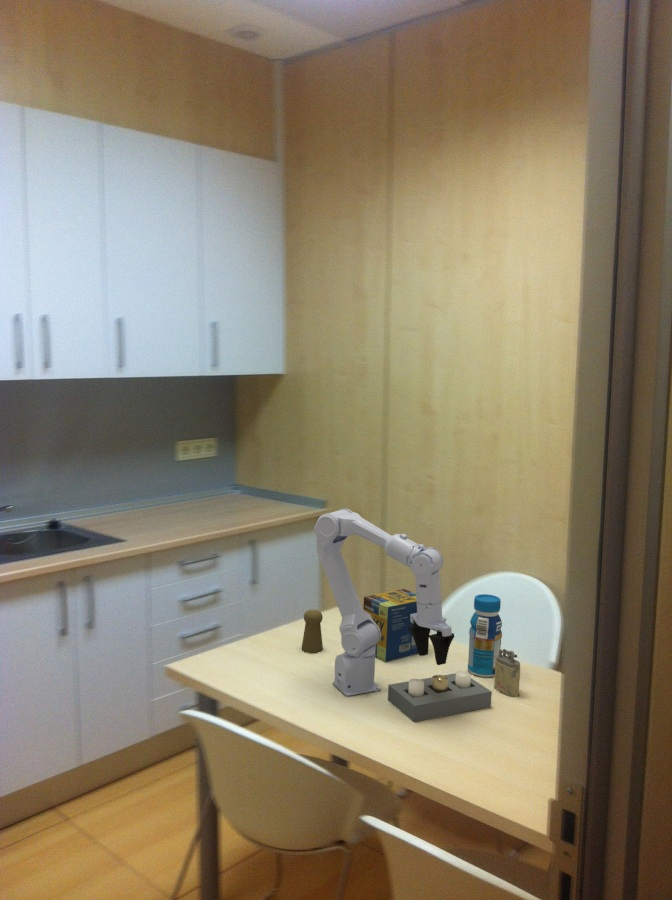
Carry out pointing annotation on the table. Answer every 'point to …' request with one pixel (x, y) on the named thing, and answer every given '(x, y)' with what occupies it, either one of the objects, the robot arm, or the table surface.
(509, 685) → the lighter
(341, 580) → the robot arm
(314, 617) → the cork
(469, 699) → the grey slotted block
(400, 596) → the protein box
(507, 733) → the table surface
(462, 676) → the far knob
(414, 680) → the near knob
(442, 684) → the brass knob
